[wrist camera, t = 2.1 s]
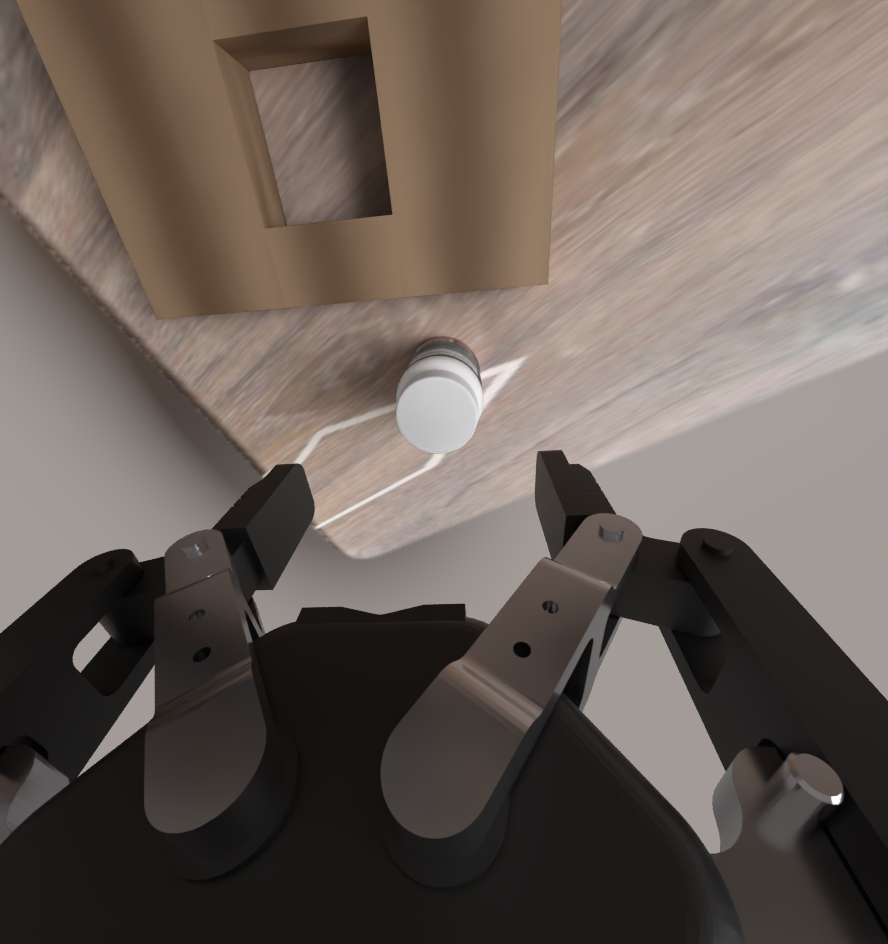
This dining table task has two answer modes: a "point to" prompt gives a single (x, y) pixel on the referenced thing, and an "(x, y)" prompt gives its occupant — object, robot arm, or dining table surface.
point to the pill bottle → (440, 396)
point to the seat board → (248, 162)
